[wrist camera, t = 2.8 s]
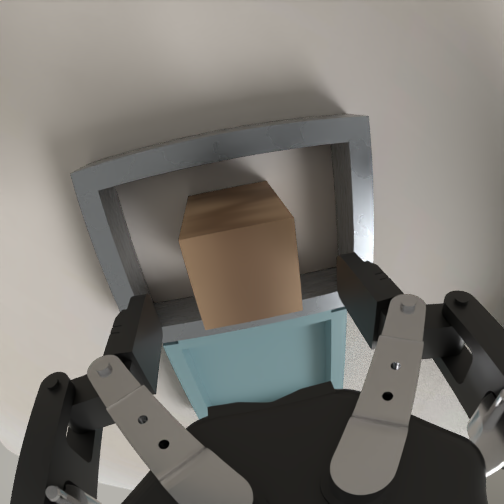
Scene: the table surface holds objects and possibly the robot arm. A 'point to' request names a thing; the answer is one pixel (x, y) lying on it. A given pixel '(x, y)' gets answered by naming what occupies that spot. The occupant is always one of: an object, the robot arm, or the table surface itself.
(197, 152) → the holder
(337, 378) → the tray
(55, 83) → the table surface
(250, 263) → the walnut block
